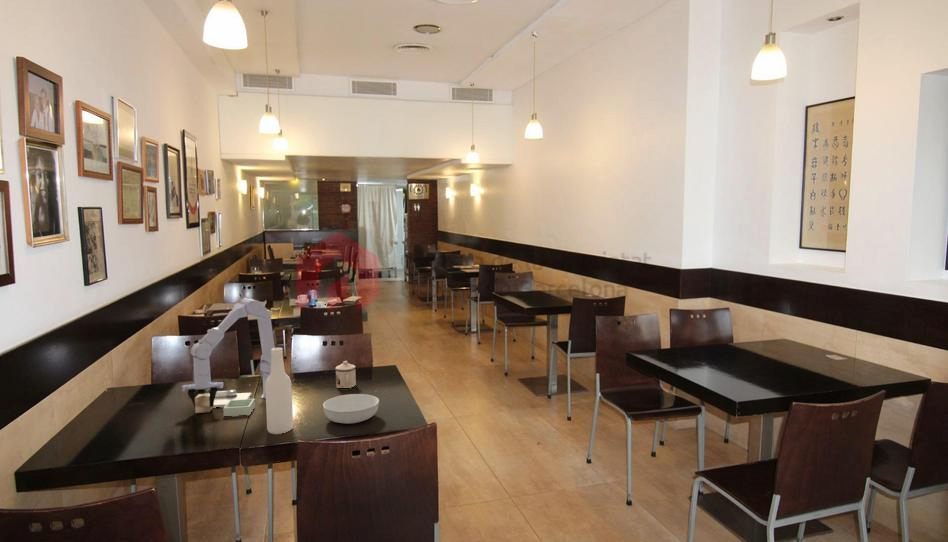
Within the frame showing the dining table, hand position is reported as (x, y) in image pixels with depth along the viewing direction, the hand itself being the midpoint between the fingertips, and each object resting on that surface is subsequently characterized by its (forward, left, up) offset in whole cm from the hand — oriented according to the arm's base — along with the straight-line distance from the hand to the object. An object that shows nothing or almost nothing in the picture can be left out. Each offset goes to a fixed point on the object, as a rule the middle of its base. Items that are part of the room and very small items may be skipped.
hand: (204, 406), depth 219 cm
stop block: (0, 0, -1) cm, 1 cm away
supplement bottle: (+10, -32, -2) cm, 34 cm away
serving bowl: (-58, +20, -2) cm, 61 cm away
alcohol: (-33, +26, -2) cm, 42 cm away
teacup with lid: (-54, -21, -2) cm, 58 cm away
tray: (-14, +3, -2) cm, 14 cm away
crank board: (-6, -11, -2) cm, 13 cm away
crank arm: (-3, -14, 0) cm, 14 cm away
